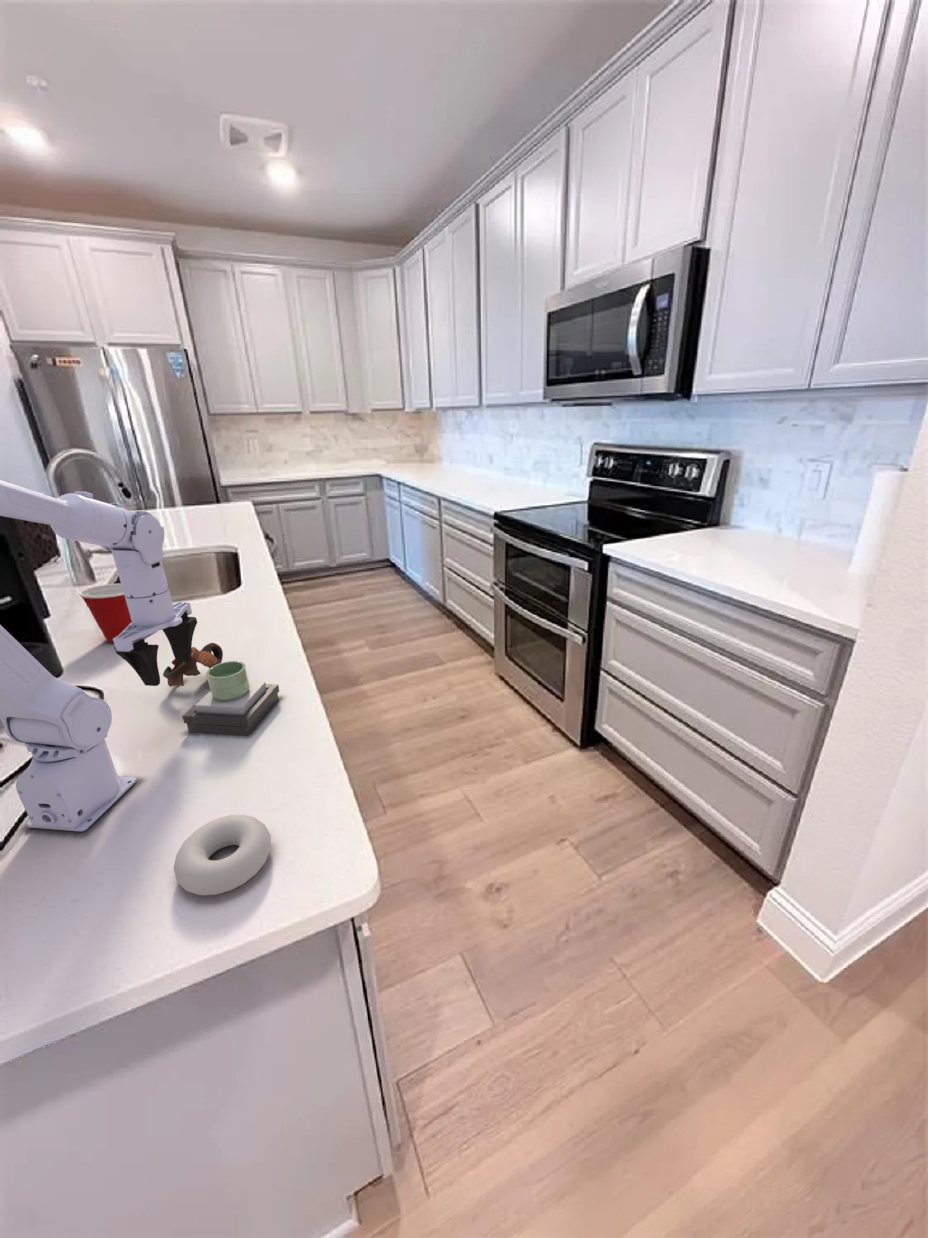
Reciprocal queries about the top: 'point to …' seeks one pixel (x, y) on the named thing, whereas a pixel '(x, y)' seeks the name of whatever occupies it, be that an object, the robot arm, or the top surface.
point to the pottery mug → (193, 663)
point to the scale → (232, 716)
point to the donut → (230, 871)
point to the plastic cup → (108, 608)
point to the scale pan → (232, 701)
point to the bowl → (228, 680)
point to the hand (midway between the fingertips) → (169, 672)
